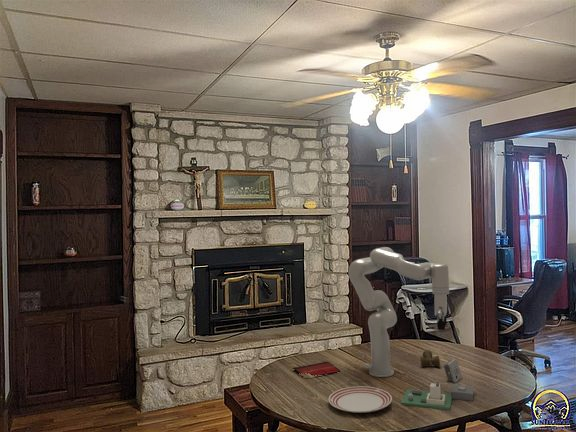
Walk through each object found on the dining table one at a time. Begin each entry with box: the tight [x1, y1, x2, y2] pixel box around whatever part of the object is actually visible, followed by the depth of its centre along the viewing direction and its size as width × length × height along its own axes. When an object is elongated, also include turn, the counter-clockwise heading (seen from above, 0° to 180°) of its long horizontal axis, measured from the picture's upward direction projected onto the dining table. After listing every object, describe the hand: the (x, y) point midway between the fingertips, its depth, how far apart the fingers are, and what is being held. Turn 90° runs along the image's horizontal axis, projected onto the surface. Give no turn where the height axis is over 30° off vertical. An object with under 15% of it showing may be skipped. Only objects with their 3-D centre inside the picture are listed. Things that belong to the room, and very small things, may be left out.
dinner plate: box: [328, 385, 393, 414], centre depth 213 cm, size 27×27×3 cm
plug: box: [429, 381, 441, 400], centre depth 210 cm, size 4×4×8 cm
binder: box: [292, 361, 341, 376], centre depth 259 cm, size 16×2×21 cm
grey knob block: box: [450, 384, 474, 402], centre depth 217 cm, size 9×9×4 cm
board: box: [400, 388, 453, 411], centre depth 214 cm, size 20×16×3 cm
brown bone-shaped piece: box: [419, 350, 441, 368], centre depth 262 cm, size 6×10×20 cm
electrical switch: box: [443, 358, 463, 384], centre depth 238 cm, size 9×5×9 cm, turn 141°
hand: (442, 327), depth 227 cm, fingers open, 9 cm apart
